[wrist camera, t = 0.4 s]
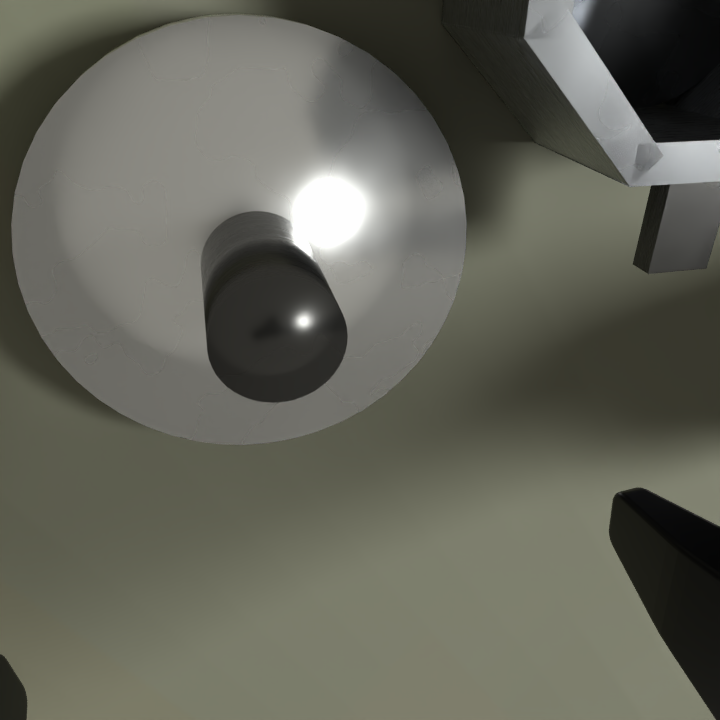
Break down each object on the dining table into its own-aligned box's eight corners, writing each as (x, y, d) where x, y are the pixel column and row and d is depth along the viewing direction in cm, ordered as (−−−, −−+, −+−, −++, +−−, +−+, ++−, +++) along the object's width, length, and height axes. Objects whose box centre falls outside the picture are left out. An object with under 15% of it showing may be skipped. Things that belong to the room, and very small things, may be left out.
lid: (458, 11, 18) (583, 27, 12) (430, 387, 24) (505, 510, 18) (-30, 10, 15) (-146, 31, 10) (77, 430, 21) (43, 587, 16)
